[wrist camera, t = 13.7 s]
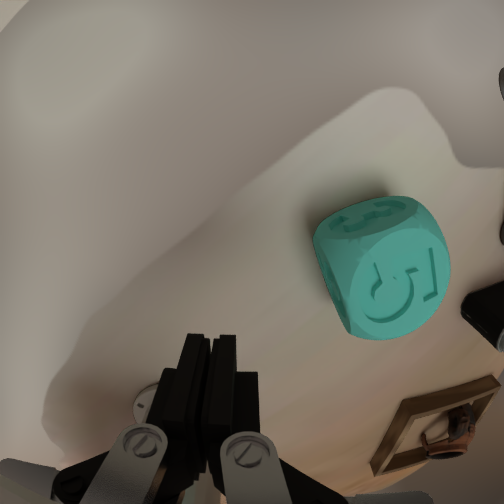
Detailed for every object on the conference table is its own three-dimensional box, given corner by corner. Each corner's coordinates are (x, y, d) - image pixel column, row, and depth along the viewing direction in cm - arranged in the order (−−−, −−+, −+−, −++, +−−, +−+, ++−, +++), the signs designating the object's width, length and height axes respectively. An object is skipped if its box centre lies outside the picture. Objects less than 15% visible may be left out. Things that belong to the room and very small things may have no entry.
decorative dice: (407, 271, 25) (454, 310, 17) (332, 304, 26) (359, 358, 18) (389, 189, 23) (444, 206, 15) (304, 222, 24) (330, 254, 16)
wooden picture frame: (453, 438, 36) (459, 448, 33) (369, 463, 35) (374, 476, 33) (492, 374, 31) (501, 385, 28) (402, 400, 30) (411, 415, 28)
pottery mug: (469, 415, 35) (466, 457, 29) (421, 420, 39) (416, 462, 33) (485, 388, 28) (486, 440, 23) (428, 395, 33) (424, 448, 27)
